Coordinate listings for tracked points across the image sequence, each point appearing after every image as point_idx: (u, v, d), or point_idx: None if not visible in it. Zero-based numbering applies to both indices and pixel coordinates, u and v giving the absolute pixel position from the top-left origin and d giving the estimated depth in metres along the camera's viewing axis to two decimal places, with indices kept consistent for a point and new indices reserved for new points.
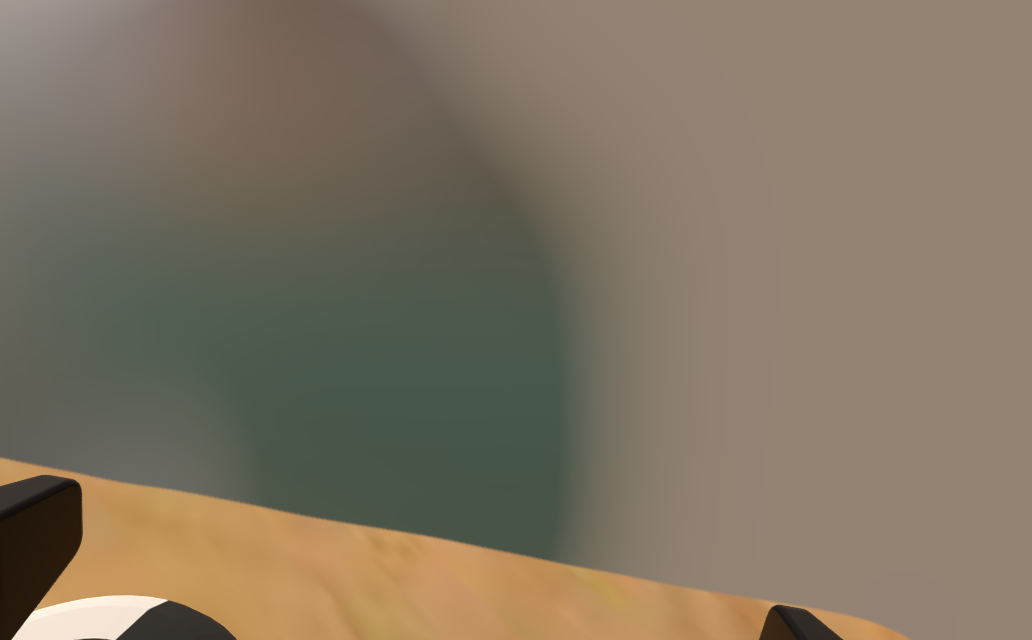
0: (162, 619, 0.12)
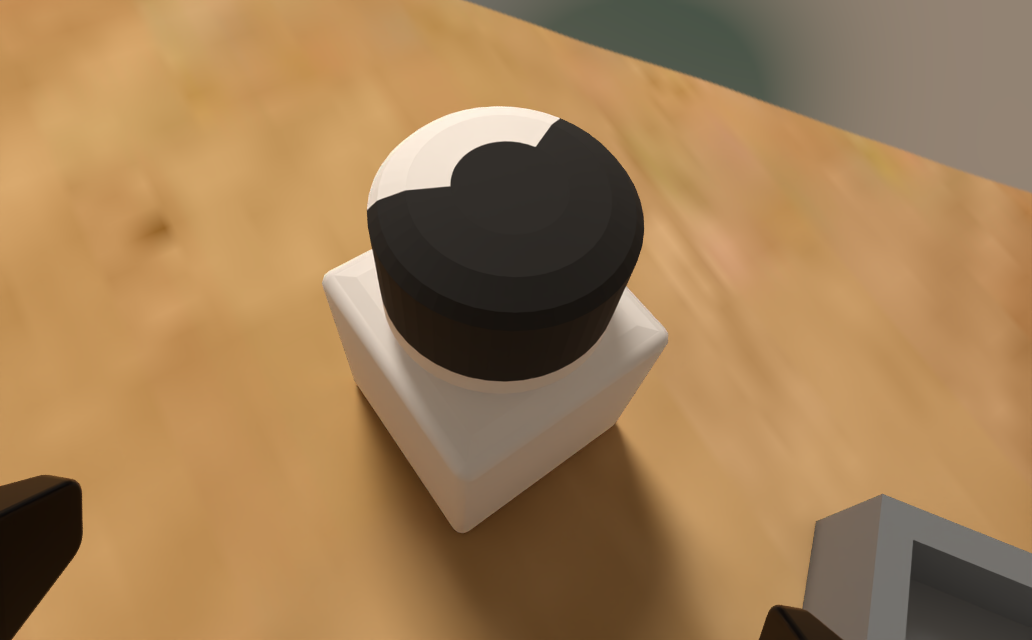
0: (564, 134, 0.14)
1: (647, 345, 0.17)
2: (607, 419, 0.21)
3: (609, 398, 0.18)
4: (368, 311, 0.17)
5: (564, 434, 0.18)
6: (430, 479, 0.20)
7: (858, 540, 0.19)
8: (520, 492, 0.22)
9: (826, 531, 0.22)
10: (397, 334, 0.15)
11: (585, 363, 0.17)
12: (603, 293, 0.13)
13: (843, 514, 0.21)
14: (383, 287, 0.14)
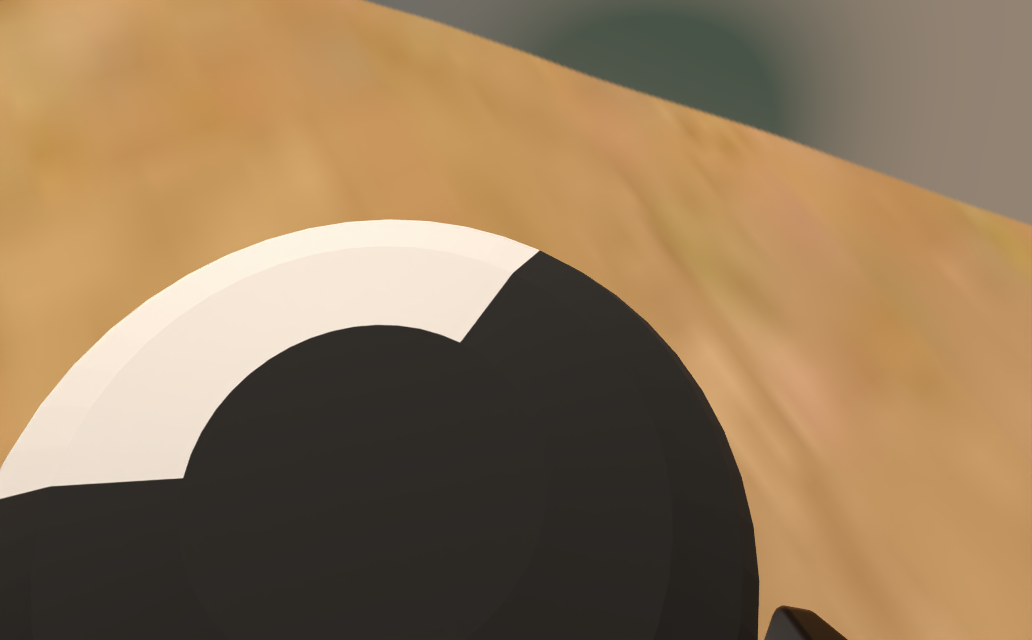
0: (543, 302, 0.06)
1: None
2: None
3: None
4: None
5: None
6: None
7: None
8: None
9: None
10: None
11: None
12: None
13: None
14: None
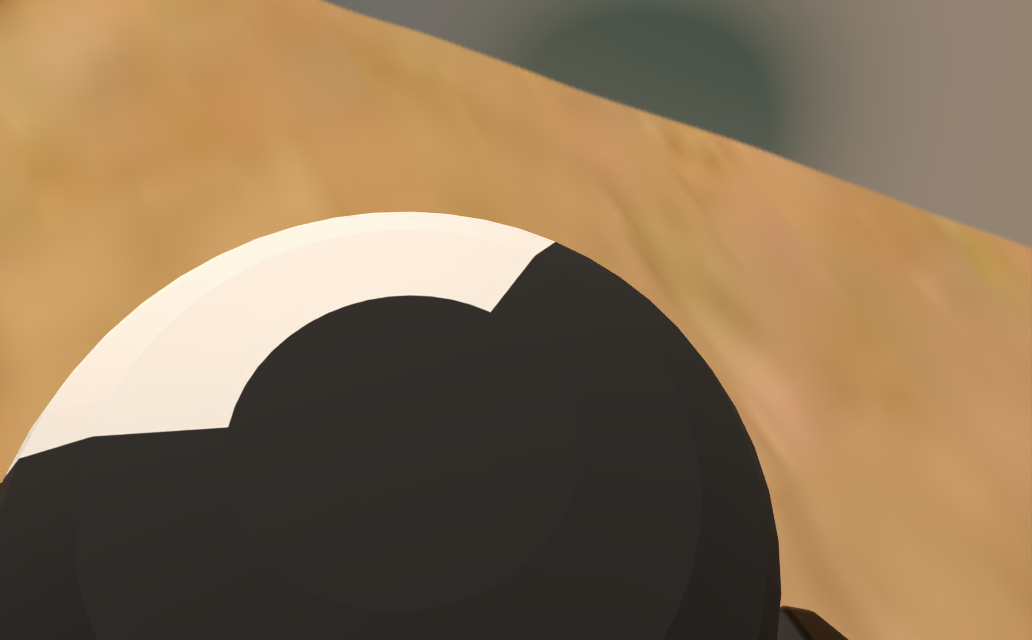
0: (566, 281, 0.06)
1: None
2: None
3: None
4: None
5: None
6: None
7: None
8: None
9: None
10: None
11: None
12: None
13: None
14: None
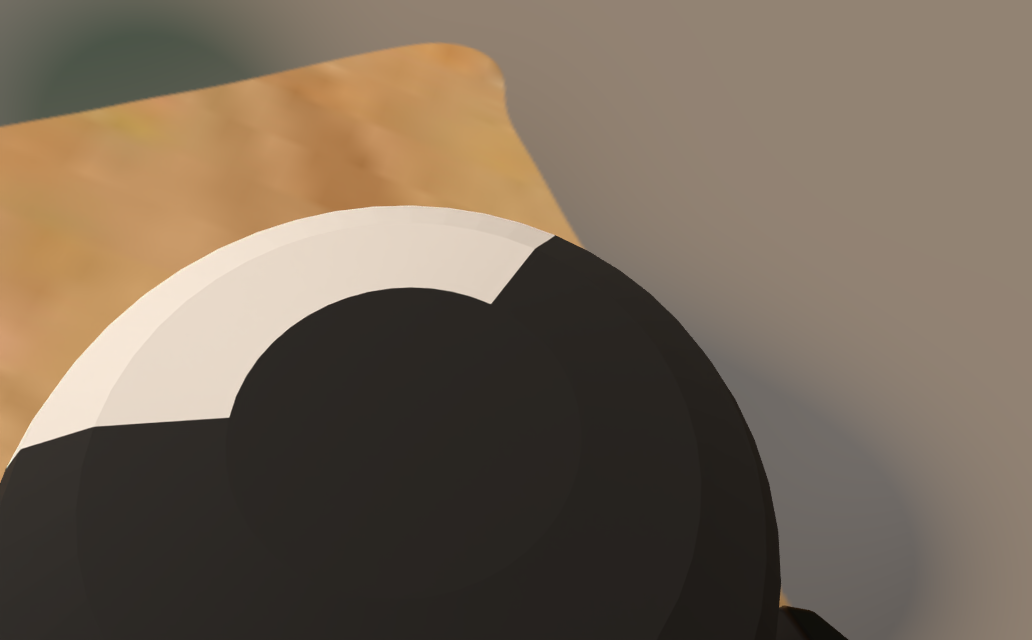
0: (565, 273, 0.06)
1: None
2: None
3: None
4: None
5: None
6: None
7: None
8: None
9: None
10: None
11: None
12: None
13: None
14: None
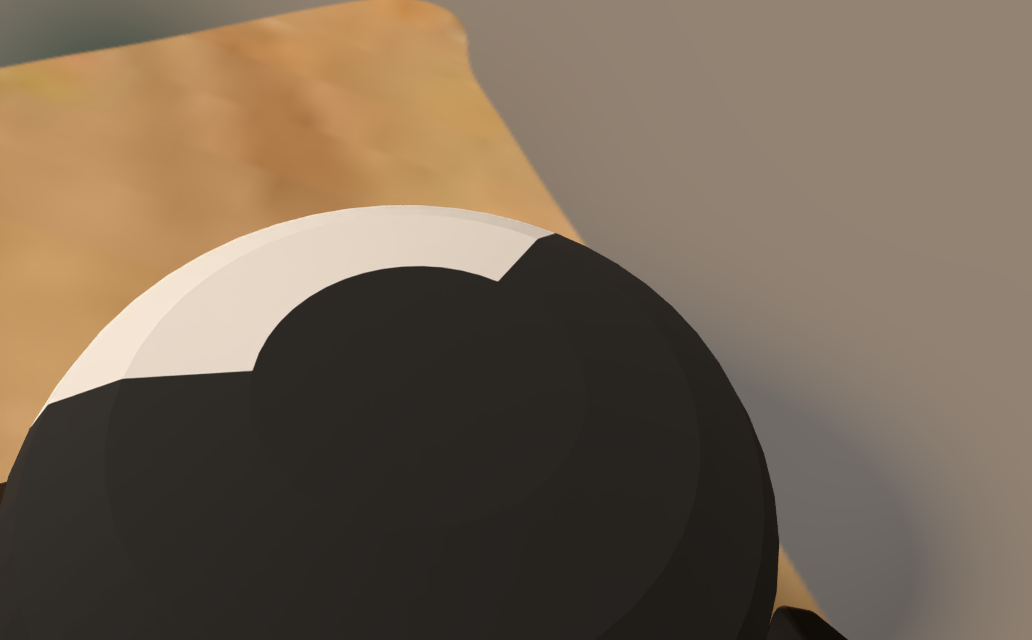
0: (567, 260, 0.06)
1: None
2: None
3: None
4: None
5: None
6: None
7: None
8: None
9: None
10: None
11: None
12: None
13: None
14: None
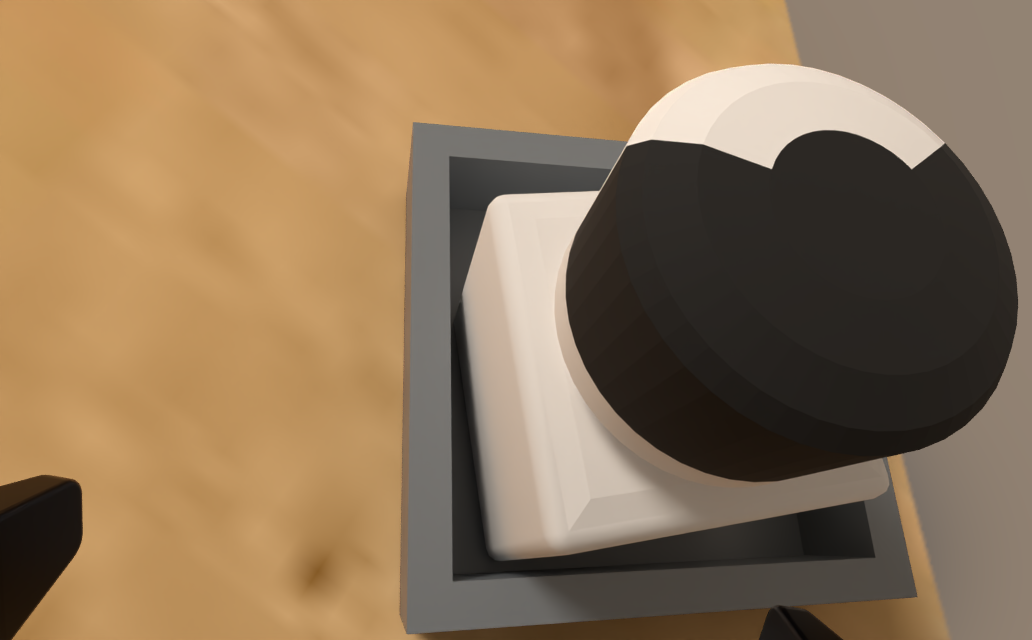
0: (955, 171, 0.09)
1: (858, 487, 0.12)
2: None
3: None
4: (531, 270, 0.12)
5: None
6: (493, 491, 0.15)
7: (410, 180, 0.18)
8: None
9: (407, 195, 0.21)
10: (564, 325, 0.11)
11: None
12: (925, 438, 0.08)
13: (409, 168, 0.20)
14: (589, 261, 0.09)
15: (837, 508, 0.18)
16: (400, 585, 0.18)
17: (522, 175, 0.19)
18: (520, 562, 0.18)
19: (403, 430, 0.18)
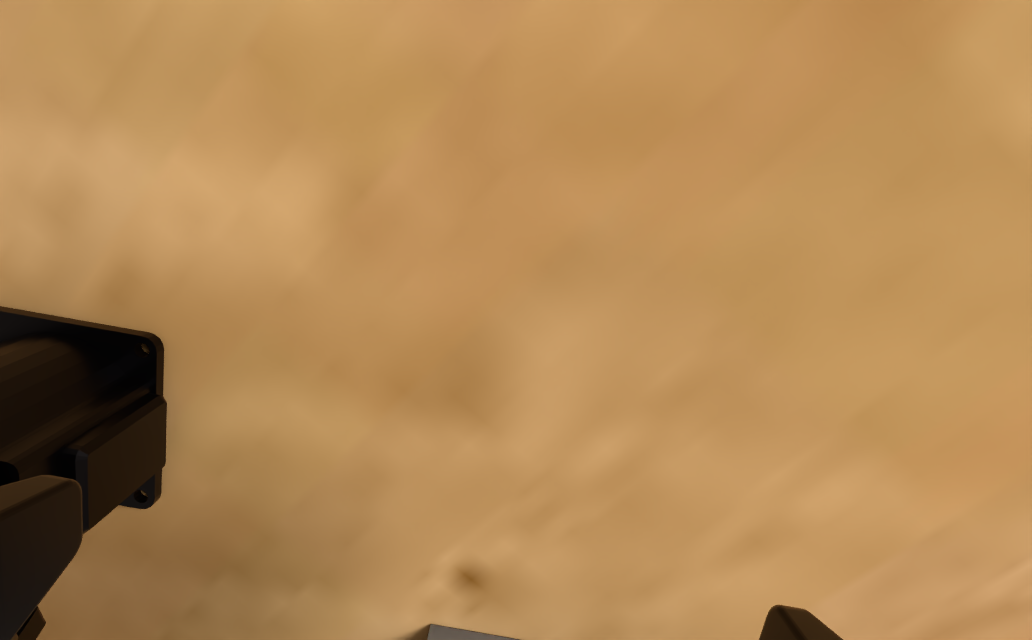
0: None
1: None
2: None
3: None
4: None
5: None
6: None
7: None
8: None
9: None
10: None
11: None
12: None
13: None
14: None
15: None
16: (449, 631, 0.24)
17: None
18: None
19: None
